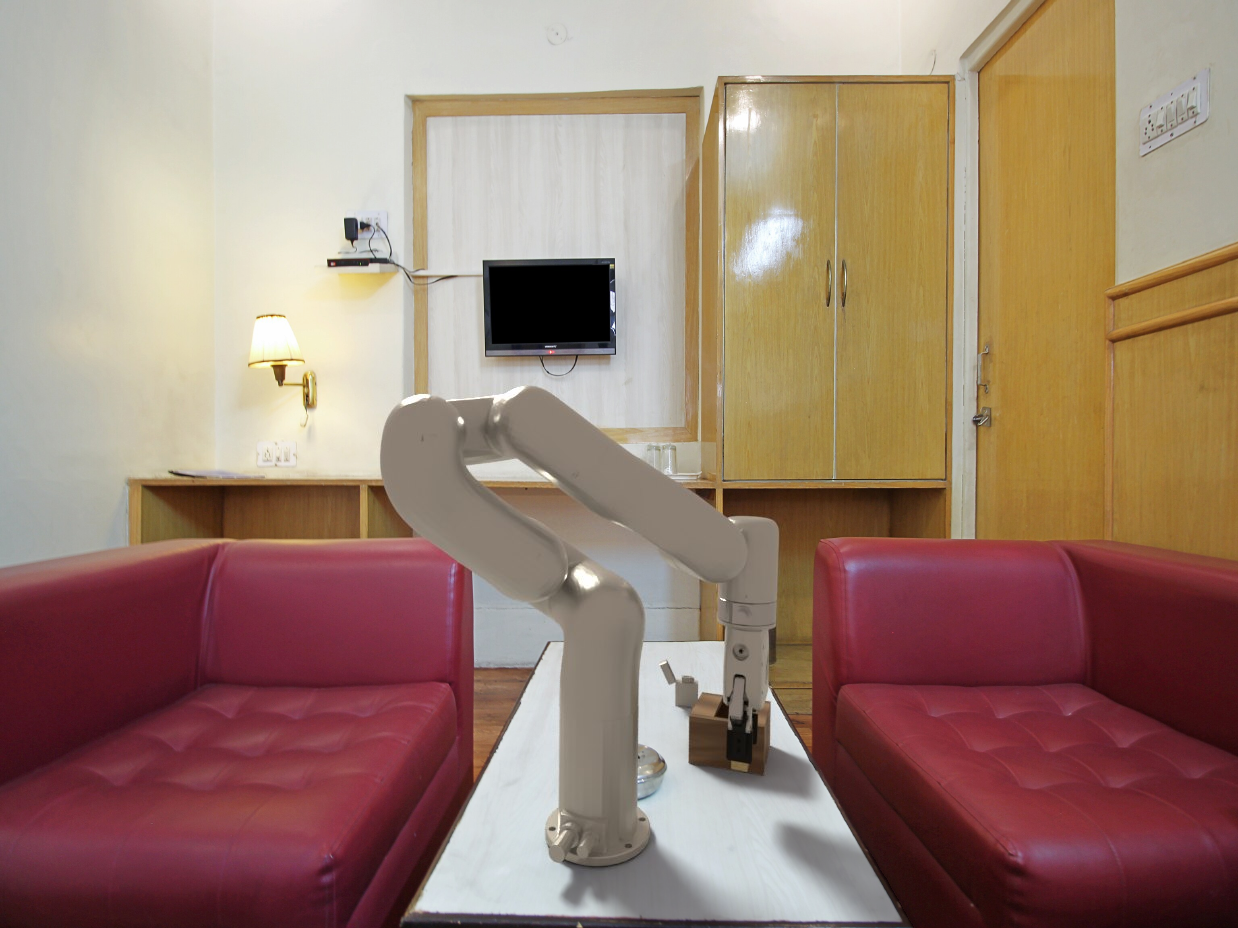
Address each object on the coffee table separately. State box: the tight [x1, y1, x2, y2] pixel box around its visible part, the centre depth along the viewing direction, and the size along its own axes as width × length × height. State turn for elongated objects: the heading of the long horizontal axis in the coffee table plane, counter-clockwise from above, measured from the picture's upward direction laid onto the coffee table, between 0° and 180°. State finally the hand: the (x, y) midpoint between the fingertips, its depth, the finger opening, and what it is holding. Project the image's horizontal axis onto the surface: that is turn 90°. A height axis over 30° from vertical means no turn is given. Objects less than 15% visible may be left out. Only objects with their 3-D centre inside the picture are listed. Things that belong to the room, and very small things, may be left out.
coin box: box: [687, 691, 772, 776], centre depth 95 cm, size 10×11×7 cm
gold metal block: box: [731, 716, 753, 773], centre depth 80 cm, size 5×2×5 cm, turn 161°
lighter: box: [659, 659, 699, 708], centre depth 114 cm, size 7×2×8 cm, turn 82°
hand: (742, 749), depth 80 cm, fingers closed on gold metal block, 4 cm apart
